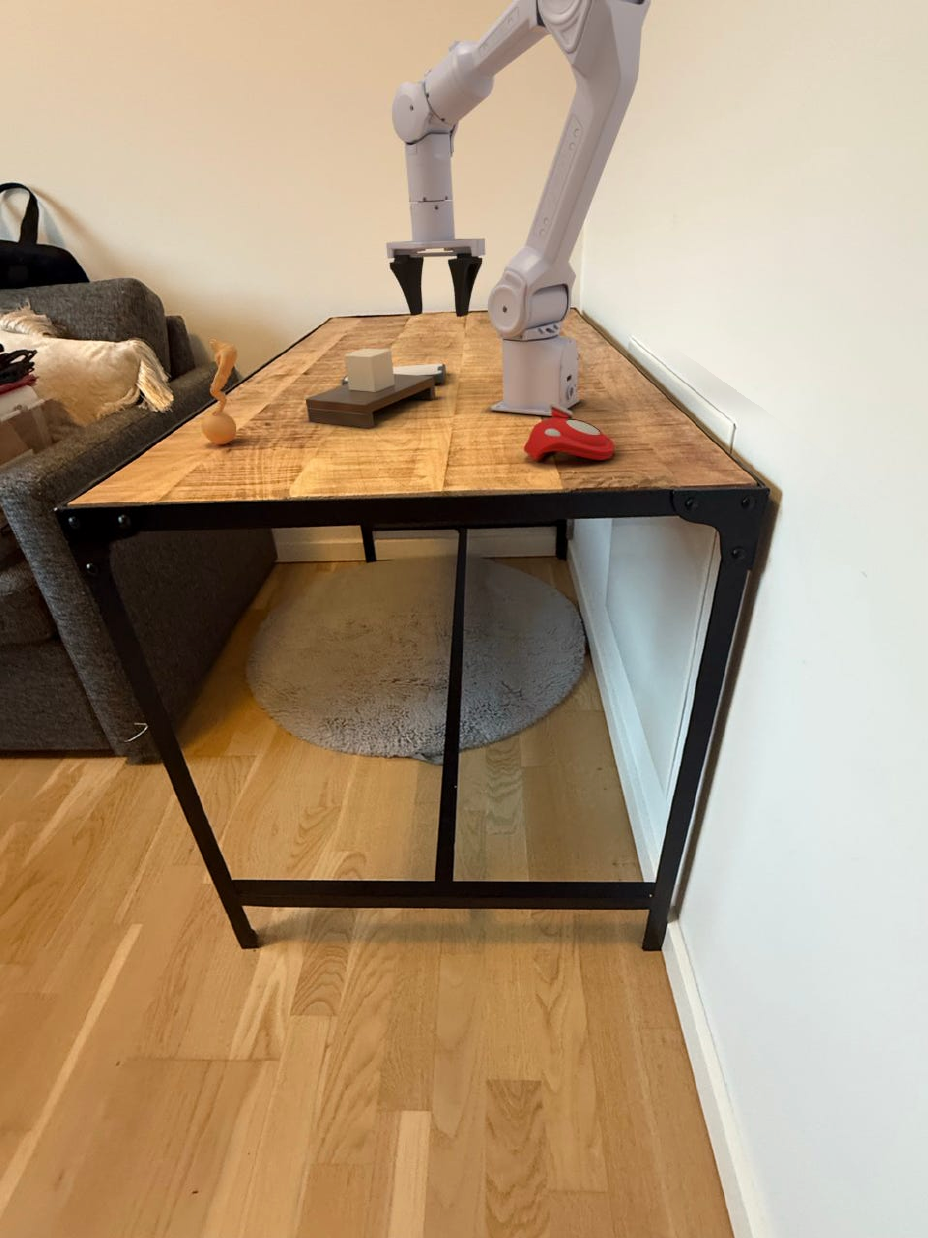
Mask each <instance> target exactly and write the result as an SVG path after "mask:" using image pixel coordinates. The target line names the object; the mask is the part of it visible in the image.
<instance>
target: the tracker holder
mask: <svg viewBox="0 0 928 1238" xmlns="http://www.w3.org/2000/svg"><path fill="white" fill-rule="evenodd" d="M550 410H551V415H552V416H550V418H547V419H543V420H541V421H539V422H538V423H536V424H535V425H534V426H533V427H532V429H531V432H530V434H529V437H528V439H527V441H526V442H525V445H524V447H523V451H524V452H525V453H526V454H528V456H530V457H531V458H532V459H533V460H535V462H536V461H537V462H538V461H540V460H542V459H543V458H544V457H545V456H546V455H547V454H548V453H549V452H563V453H566V454H570V455H572V456H577V457H580V458H581V457H582V458H586V459H590V460H596V461H606V460H609V459H611V458H612V457H613V454H614V451H615V449H616V446H615V443H614V442H613V441H612V439H611V438H609V437H608V436H607V435H605V433H603V432H602V431H601V430H600V429H599V428H598V427H597V426H594V425H593V424H591V423H589V422H586V421H584V420H581V419H577V418H576V419H575V418H574V412H572V411H573V410H570V409H565V408H563V407H561V406H558V405H556V404H554V403H552V402H551V403H550Z"/></svg>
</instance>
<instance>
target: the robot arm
mask: <svg viewBox="0 0 928 1238" xmlns="http://www.w3.org/2000/svg"><path fill="white" fill-rule="evenodd" d="M651 4H652V0H513V1H512V2H511V3H510V5H508V7H507V8H506V9H505V10H504V11H503V12H502V14H500V16H499V17H498V18H497V19H496V20H495V21H494V22H493V23H492V24H491V26H490V27H489V28H488V29H487V30H486V32H485V33H484V34H483V35H482V36H481V37H480V38H479V39H478V41H476V42H475V41H473V40H470V39H463V40H453V42H452V43H451V44H450V45H449V46H448V51H449V52H448V53H447V54H446V56H445V57H443V59H442V60H441V61H439V63H437V64H436V66H434V67H433V68H432V69H428V70H427V71H426V72H424V74H423V78H422V79H421V80H420V81H417V82H412V81H404V82H402V83H401V84H400V86H399V88H398V89H397V91H396V92H395V94H394V97H393V100H392V106H391V121H392V125H393V128H394V131H395V133H396V135H397V136H398V138H399V139H400V140H401V141H403V142H404V143H403V145H404V155H405V168H406V180H407V191H408V202H409V214H410V224H411V225H410V227H411V238H412V240H403V241H389V242H386V243H385V246H386V247H385V248H386V257H387V259H393V261H390V262H389V269H390V270H391V272H392V273H393V275H394V276H395V278H396V280H397V282H398V283H399V284H398V285H399V286H400V289H401V290H402V293H403V296H404V298H405V301H406V304H407V307H408V310H409V314H410V316H412V317H416V316H419V315H422V314H423V309H424V307H423V305H424V304H423V292H422V291H423V290H422V280H423V279H422V278H423V268H424V261H425V259H424V258H439V257H440V258H444V257H445V258H446V257H454V258H449V259H447V264H448V265H447V266H448V268H449V271H450V276H451V280H452V286H453V292H454V293H453V294H454V295H453V296H454V308H455V309H454V311H455V316H456V317H457V318H462V317H466V316H468V315H469V310H470V304H471V299H472V293H473V288H474V285H475V283H476V280H477V276H478V274H479V272H480V270H481V267H482V265H483V257H481V256H486V238H456V230H455V229H456V227H455V210H454V208H455V207H454V195H453V193H454V192H453V177H452V176H453V174H452V158H453V155H454V152H455V147H454V142H455V136H456V134H457V131H458V128H459V124H460V121H461V120H463V118H465V117H466V116H467V115H468V114H469V113H471V112H472V111H473V110H474V109H475V108H476V107H478V105H480V104H481V103H482V102H483V101H484V100H486V99H487V98H488V97H489V96H490V95H491V94H492V92H493V89H494V85H495V76H496V75H497V74H498V73H500V71H502V70H503V69H505V68H506V67H507V66H508V65H510V64H511V63H512V62H514V61H515V60H517V59H518V58H519V57H521V55H523V54H524V53H526V52H527V51H528V50H529V49H531V48H532V47H534V46H535V45H536V44H537V43H538V42H540V41H541V40H542V39H544V38H545V37H547V36H548V35H549V36H550V35H551V37H552V38H553V40H554V41H555V43H556V45H557V46H558V47H559V49H560V51H561V53H562V54H563V55H564V56H565V58H566V60H567V61H568V63H569V64H570V68H571V71H572V74H573V77H574V80H575V83H576V89H575V92H574V95H573V98H572V101H571V104H570V107H569V111H568V113H567V116H566V119H565V123H564V126H563V129H562V131H561V135H560V137H559V140H558V144H557V147H556V149H555V152H554V156H553V159H552V161H551V165H550V167H549V170H548V174H547V177H546V180H545V182H544V186H543V189H542V193H541V194H540V195H541V196H540V198H539V201H538V204H537V208H536V210H535V213H534V216H533V219H532V223H531V225H530V228H529V232H528V234H527V238H526V241H525V244H524V246H523V248H521V249H520V250H519V252H517V253H516V255H515V256H513V258H512V259H510V260H509V261H508V263H507V264H506V265H504V268H503V272H502V275H501V276H500V279H499V281H498V282H497V283H496V284H495V285H494V286H493V287H492V289H491V290H490V292H489V296H488V299H487V315H488V319H489V322H490V323H491V326H492V327H493V329H494V330H495V331H496V333H497V338H498V339H501V360H502V361H501V362H502V365H501V366H502V399H503V400H500V401H499V402H496V403H495V404H493V405H492V406H490V410H491V411H495V412H507V413H515V414H516V413H517V414H525V415H526V414H527V415H538V416H546V417H547V416H549V417H552V415H551V410H550V403H551V402H552V403H554V404H556V405H558V406H561V407H563V408H565V409H567V410H569V408H571V407H573V406H574V405H575V404H577V403H579V402H580V398H579V397H578V383H579V382H578V381H579V347H578V343H577V341H576V339H574V338H573V337H568V336H567V337H566V336H562V335H560V334H559V333H560V332H562V323H564V321H565V320H566V319H567V317H568V316H569V313H570V311H571V307H572V292H573V291H572V290H573V286H574V283H575V281H576V278H577V275H576V272H575V270H574V269H573V267H572V265H571V263H570V259H571V257H572V253H573V251H574V249H575V246H576V243H577V241H578V238H579V236H580V233H581V230H582V228H583V225H584V223H585V220H586V218H587V215H588V212H589V210H590V207H591V205H592V202H593V199H594V197H595V195H596V191H597V189H598V186H599V183H600V182H601V179H602V176H603V173H604V171H605V168H606V165H607V164H608V163H607V162H608V160H609V157H610V155H611V153H612V150H613V147H614V145H615V143H616V139H617V137H618V134H619V132H620V129H621V126H622V124H623V122H624V118H625V117H626V114H627V111H628V108H629V107H630V103H631V100H632V98H633V96H634V93H635V91H636V87H637V83H638V80H639V72H640V56H641V43H642V42H641V41H642V31H643V29H642V27H643V26H644V23H645V20H646V18H647V15H648V11H649V9H650V7H651ZM434 249H443V251H436V252H435V251H434V252H425V251H426V250H434Z"/></svg>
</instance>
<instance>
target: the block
mask: <svg viewBox="0 0 928 1238" xmlns="http://www.w3.org/2000/svg"><path fill="white" fill-rule="evenodd" d="M343 357H344V365H345V372H346V375H347V379H348V386H349V390H357V391H368V392H377V391H379V390H382V389H384V388H387V387H389V386H392V385H394V384H395V383H394V374H393V367H394V366H393V365H394V364H393V357H392V350H391V349H381V348H379V349H378V348H362V349H359V350H355V351H352V352H349V353H346V354H344V355H343Z"/></svg>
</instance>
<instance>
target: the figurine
mask: <svg viewBox="0 0 928 1238" xmlns="http://www.w3.org/2000/svg"><path fill="white" fill-rule="evenodd" d="M209 343H210V344H211V345H210V346H209V347H210V349H211V350H212V351H214V361H215V364H216V366H217V371H216V373H215V375H214V379H213V382H212V383H211V384H210V388H209V392H210V394H211V396H212V397H214V398H215V399H216V400H217V401H218V402H220V404H219V406H218V407H216V408H214V410H213V411H210V412H208V413H207V414H205V416H204V417H203V418H202V422H201V430H202V433H203V435H204V437H205V438H206V439H207V440H208V441H209V442H211V443H213V444H215V445H227V444H229V443H230V442H232V441H233V440H234V439H235V437H236V434H237V424H236V421H235V420H234V418H233V417H232V416H231V415H230V414H229V413H227V412H225V411H224V409H225V406H226V404H227V401H228V399H227V394H226V392H225V391H222V390H221V389H222V388H223V387H225V385H226V384H227V383H228V379H229V378H230V376H231V375H232V369H233V367H234V366H235V363H236V360H237V356H238V350H237V348H236V346H235V345H234V344H231V343H225V342H221V341H219V340H218V339H215V338H213V339H211V340H210V342H209Z"/></svg>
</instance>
